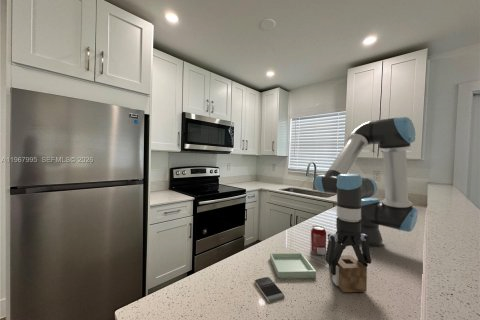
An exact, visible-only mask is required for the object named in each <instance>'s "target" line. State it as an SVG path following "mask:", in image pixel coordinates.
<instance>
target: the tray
mask: <svg viewBox="0 0 480 320" xmlns="http://www.w3.org/2000/svg"><path fill="white" fill-rule="evenodd" d="M269 260H270V263H271V265H272V267H273V270H274V271H275V274H276V276H277V278H278V279H279V280H280V279H316V278H317V270H316V269H315V268H314V266H312V264H311V262H309V260H308V259H307V258H306V257H305V255H304V254H303V252H270V253H269Z"/></svg>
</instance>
